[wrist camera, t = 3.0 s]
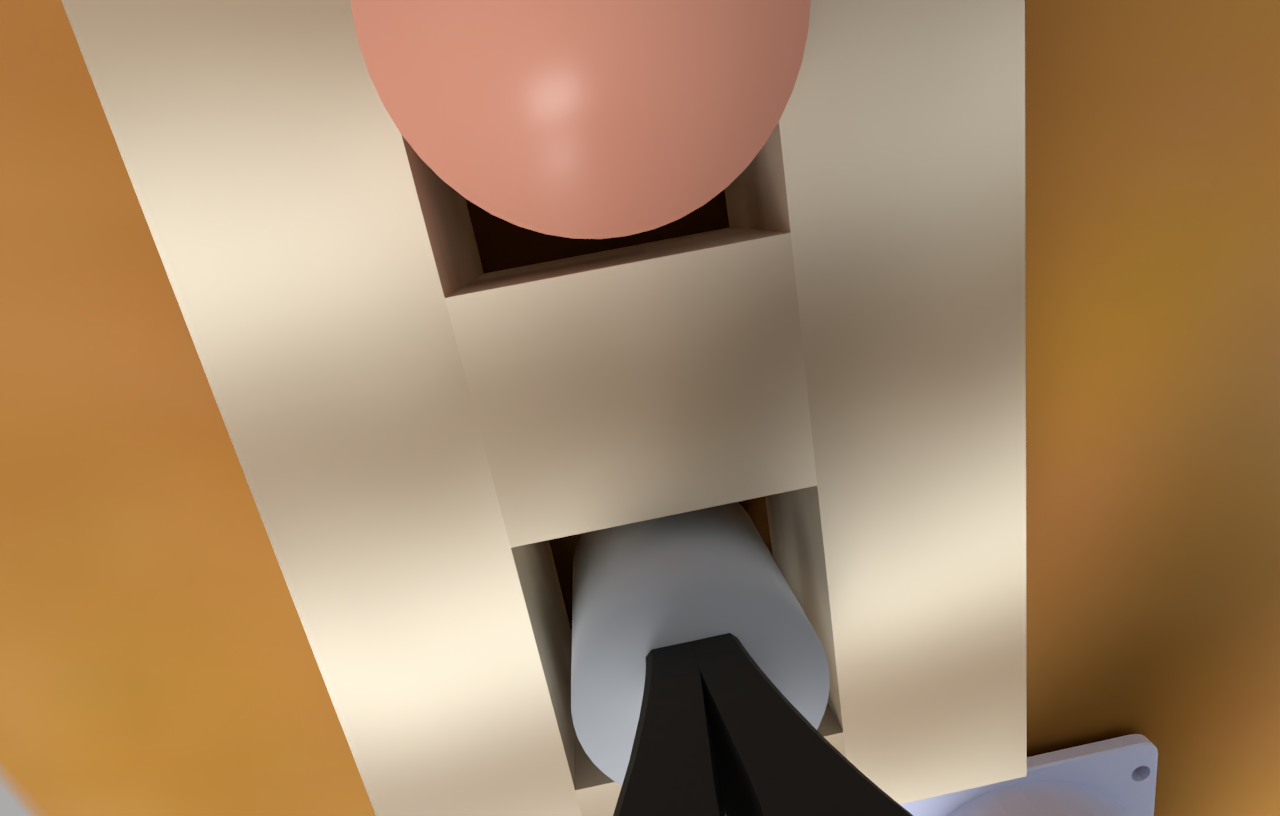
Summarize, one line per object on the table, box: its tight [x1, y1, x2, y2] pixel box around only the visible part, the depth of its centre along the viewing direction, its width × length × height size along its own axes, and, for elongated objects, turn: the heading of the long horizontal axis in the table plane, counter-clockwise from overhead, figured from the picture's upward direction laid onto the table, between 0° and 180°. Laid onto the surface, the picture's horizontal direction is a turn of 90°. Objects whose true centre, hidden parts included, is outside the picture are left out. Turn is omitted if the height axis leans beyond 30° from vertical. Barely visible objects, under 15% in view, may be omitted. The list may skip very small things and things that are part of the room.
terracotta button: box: [350, 0, 811, 239], centre depth 8 cm, size 4×4×4 cm
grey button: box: [571, 502, 830, 785], centre depth 12 cm, size 4×4×4 cm
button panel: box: [62, 0, 1027, 816], centre depth 12 cm, size 18×12×4 cm, turn 10°
